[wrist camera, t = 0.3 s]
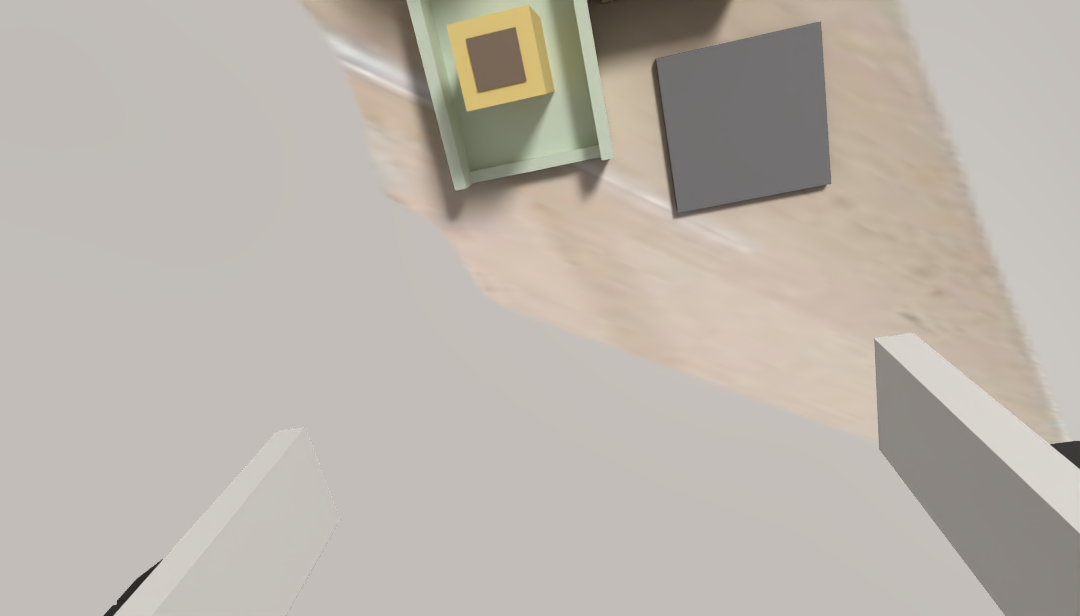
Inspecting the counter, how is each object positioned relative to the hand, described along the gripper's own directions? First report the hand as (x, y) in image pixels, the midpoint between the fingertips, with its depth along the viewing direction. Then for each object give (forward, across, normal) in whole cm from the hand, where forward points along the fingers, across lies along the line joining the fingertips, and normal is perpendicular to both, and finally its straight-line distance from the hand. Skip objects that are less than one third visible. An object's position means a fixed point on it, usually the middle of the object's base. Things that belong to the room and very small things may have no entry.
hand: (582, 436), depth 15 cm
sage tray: (+27, -3, +9) cm, 29 cm away
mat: (+27, +10, +3) cm, 29 cm away
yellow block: (+27, -3, +9) cm, 28 cm away
